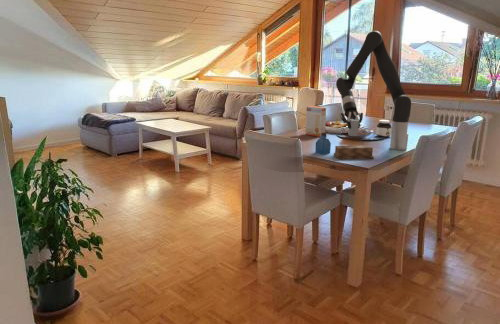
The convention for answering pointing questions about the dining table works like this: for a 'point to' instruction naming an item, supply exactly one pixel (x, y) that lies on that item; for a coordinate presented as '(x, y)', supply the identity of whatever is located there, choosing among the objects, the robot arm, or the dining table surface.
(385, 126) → the spread jar
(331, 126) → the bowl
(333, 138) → the dining table surface
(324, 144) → the perfume bottle
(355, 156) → the stand
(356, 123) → the slate peg
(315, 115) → the cracker box
